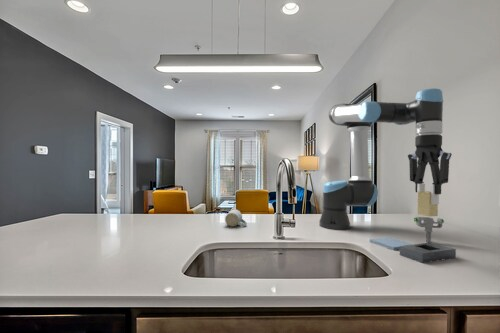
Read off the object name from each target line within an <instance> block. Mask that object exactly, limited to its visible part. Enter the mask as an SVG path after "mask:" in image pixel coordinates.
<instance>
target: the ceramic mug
mask: <svg viewBox="0 0 500 333" xmlns="http://www.w3.org/2000/svg"><path fill="white" fill-rule="evenodd" d="M224 220H225V221H224V222H225V224H226V225H227V226H228V227H231V228H232V227H237V226H238V225H239V226H241V227H243V228H244V227H246V226H247V225H248V223H247V222H246V220H244V219H243V214H242V213H241V211H240V210H239V209H235V208H234V209H230V210H229V212H228V213H227V214H226V215H225V219H224Z"/></svg>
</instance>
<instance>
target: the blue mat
mask: <svg viewBox="0 0 500 333" xmlns="http://www.w3.org/2000/svg"><path fill="white" fill-rule="evenodd" d="M369 243H373V244H375V245H378V246H381V247H384V248H387V249H389V250H391V251H392V250H393V251H397V249H398V250H400V246H405V245H413V244H414V243H410V242H408V241H404V240H400V239H398V238H393V237H390V236H389V237H380V238H379V237H378V238H371V239H369Z"/></svg>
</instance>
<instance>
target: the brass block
mask: <svg viewBox="0 0 500 333" xmlns="http://www.w3.org/2000/svg"><path fill="white" fill-rule="evenodd" d="M438 205H439V204H431V191H427V190H425V191H418V202H417V215H420V216H423V217H429V218H431V217H438V213H439V212H438V211H439V210H438V208H439V206H438Z"/></svg>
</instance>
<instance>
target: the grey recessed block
mask: <svg viewBox="0 0 500 333" xmlns="http://www.w3.org/2000/svg"><path fill="white" fill-rule="evenodd" d="M412 244H413V245H405V246H400V249H399V255H400V256H402V257H405V258H407V259H411V260H413V261H415V260H416V262H418V261H419V263H421V264H425V263H424V262H426V263H431V262H430V261H432V262H436V261H437V260H439V261H443V260H442V259H445V260H449V258H451V259H456V258H457V255H456V254H457V249H456V248H454V247H451V246H446V245H444V244H438V243H436V242H433V241H431V242H430V243H428V242H424V243H415V244H414V243H412Z"/></svg>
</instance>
